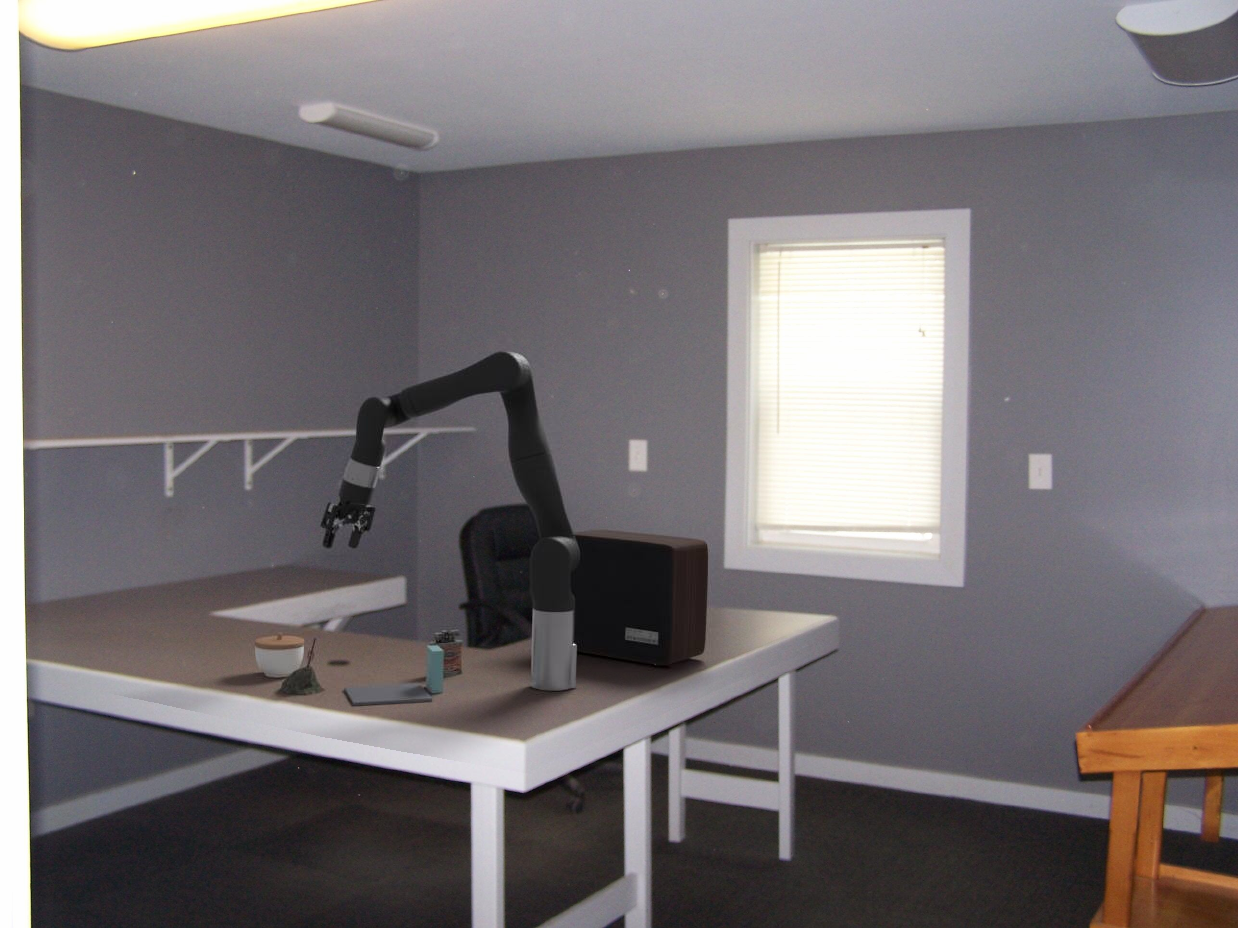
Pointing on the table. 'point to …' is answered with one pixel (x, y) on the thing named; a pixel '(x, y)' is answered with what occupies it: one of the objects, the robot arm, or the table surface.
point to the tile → (434, 669)
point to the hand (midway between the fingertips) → (339, 547)
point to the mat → (387, 694)
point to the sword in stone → (302, 680)
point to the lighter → (450, 651)
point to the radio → (640, 596)
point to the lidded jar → (279, 654)
